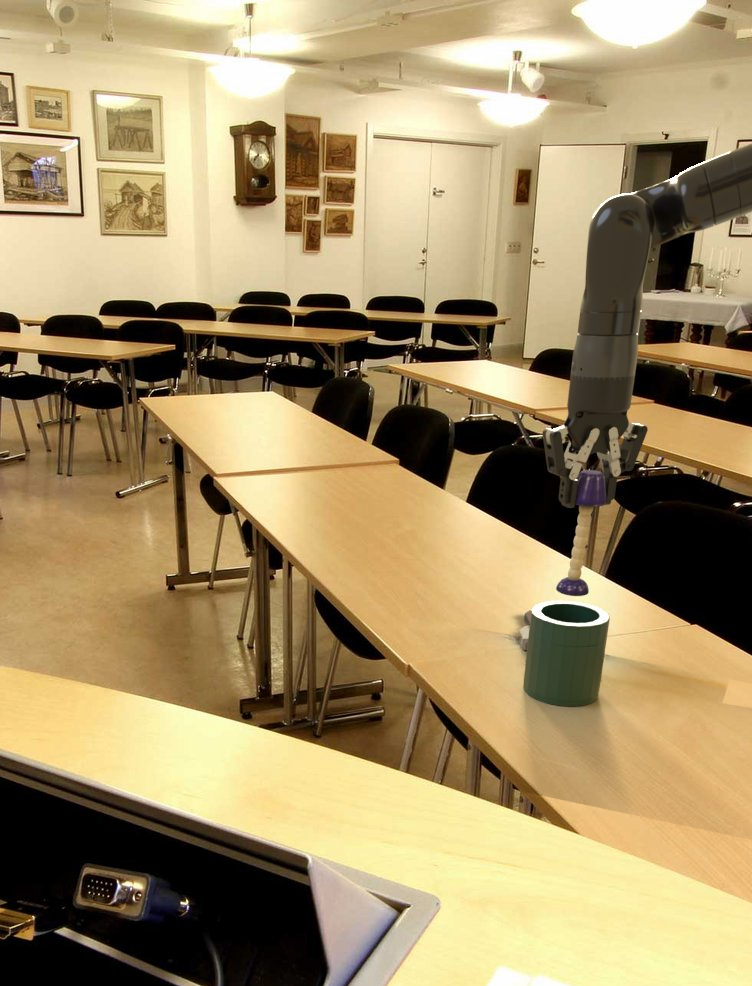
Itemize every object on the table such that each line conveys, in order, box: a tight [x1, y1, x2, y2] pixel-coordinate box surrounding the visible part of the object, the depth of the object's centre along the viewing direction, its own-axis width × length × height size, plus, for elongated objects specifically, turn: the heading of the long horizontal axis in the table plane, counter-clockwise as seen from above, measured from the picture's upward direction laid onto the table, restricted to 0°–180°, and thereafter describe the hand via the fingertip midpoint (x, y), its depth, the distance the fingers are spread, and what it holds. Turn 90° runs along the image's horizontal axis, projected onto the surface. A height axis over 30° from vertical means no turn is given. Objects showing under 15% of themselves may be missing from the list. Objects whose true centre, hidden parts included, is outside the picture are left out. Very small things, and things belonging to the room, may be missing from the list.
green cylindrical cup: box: [522, 600, 611, 707], centre depth 129 cm, size 10×10×12 cm
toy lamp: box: [555, 469, 606, 597], centre depth 122 cm, size 5×5×17 cm
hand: (585, 504), depth 120 cm, fingers closed on toy lamp, 4 cm apart
